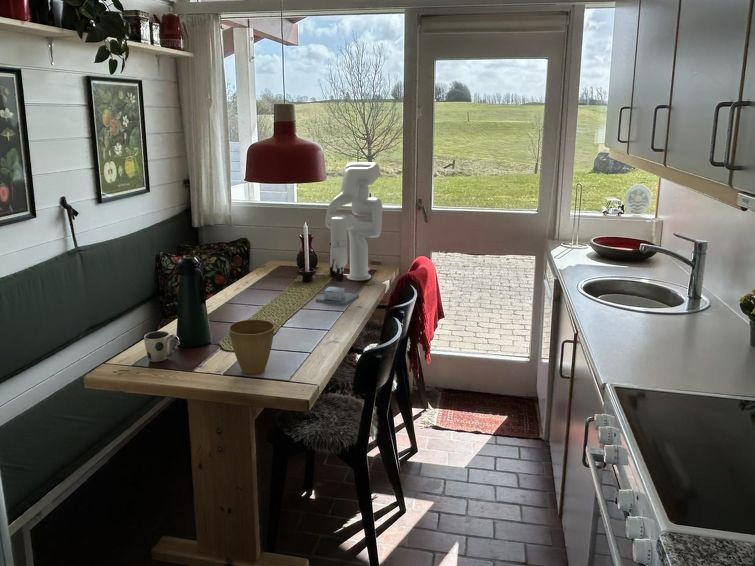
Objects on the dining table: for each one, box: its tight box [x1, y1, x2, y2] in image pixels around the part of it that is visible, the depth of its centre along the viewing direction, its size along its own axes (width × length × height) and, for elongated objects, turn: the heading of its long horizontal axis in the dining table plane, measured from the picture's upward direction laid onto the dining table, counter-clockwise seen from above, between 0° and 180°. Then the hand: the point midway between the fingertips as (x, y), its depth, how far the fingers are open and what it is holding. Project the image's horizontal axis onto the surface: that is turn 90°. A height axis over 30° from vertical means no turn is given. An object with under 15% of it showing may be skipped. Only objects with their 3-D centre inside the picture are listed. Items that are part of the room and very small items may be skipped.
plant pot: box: [228, 319, 275, 376], centre depth 209 cm, size 15×15×16 cm
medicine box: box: [323, 286, 346, 301], centre depth 290 cm, size 8×4×9 cm
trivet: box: [315, 292, 360, 306], centre depth 293 cm, size 15×15×1 cm
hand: (339, 281), depth 296 cm, fingers closed
